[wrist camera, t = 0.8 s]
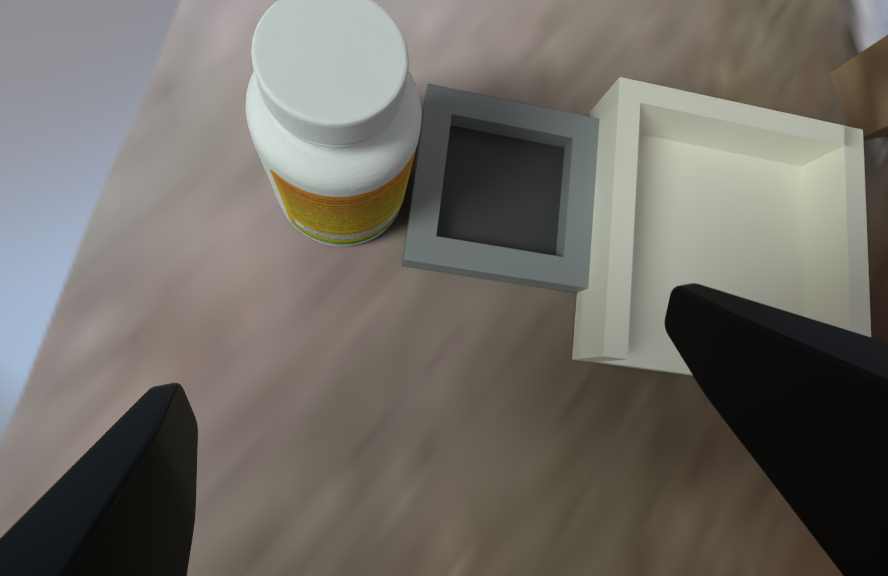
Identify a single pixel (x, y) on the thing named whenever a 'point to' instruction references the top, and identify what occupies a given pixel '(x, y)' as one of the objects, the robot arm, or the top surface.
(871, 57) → the walnut block
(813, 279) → the tray
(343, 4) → the supplement bottle
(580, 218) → the holed board
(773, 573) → the top surface
